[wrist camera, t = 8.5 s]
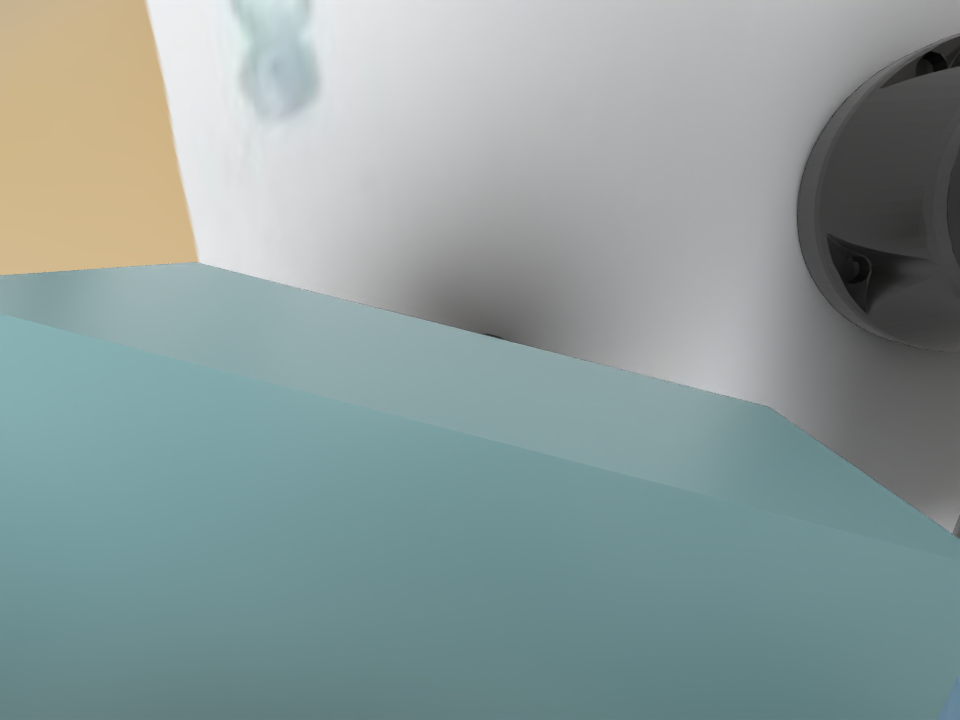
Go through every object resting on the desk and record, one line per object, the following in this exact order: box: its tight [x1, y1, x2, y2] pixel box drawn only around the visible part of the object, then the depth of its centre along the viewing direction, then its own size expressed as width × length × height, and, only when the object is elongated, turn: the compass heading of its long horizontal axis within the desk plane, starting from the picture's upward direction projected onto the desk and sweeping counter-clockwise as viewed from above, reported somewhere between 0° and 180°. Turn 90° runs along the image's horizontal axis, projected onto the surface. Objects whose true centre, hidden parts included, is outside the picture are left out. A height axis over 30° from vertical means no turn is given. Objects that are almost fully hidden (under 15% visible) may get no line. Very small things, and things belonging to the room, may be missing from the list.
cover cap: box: [0, 262, 960, 720], centre depth 10 cm, size 12×12×6 cm
